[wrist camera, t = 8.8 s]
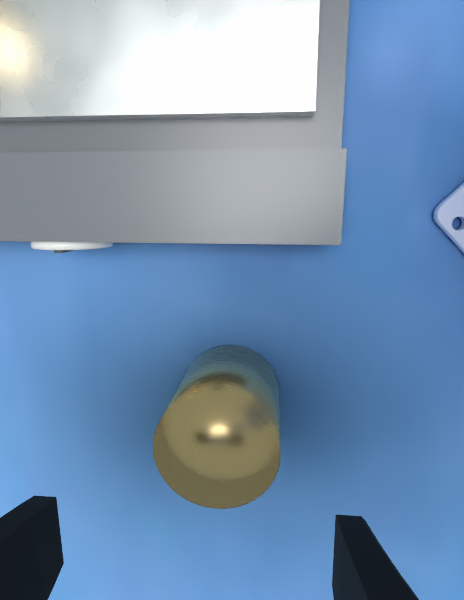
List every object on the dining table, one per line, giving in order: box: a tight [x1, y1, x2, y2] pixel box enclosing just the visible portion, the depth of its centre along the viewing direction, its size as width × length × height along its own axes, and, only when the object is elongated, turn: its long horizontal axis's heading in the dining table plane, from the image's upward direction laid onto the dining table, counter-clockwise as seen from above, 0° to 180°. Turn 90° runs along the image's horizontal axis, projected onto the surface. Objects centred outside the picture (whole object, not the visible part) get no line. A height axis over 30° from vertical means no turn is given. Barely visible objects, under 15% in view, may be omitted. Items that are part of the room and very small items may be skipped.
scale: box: [0, 0, 350, 253], centre depth 15 cm, size 14×20×4 cm
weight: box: [153, 345, 280, 509], centre depth 17 cm, size 4×4×5 cm
